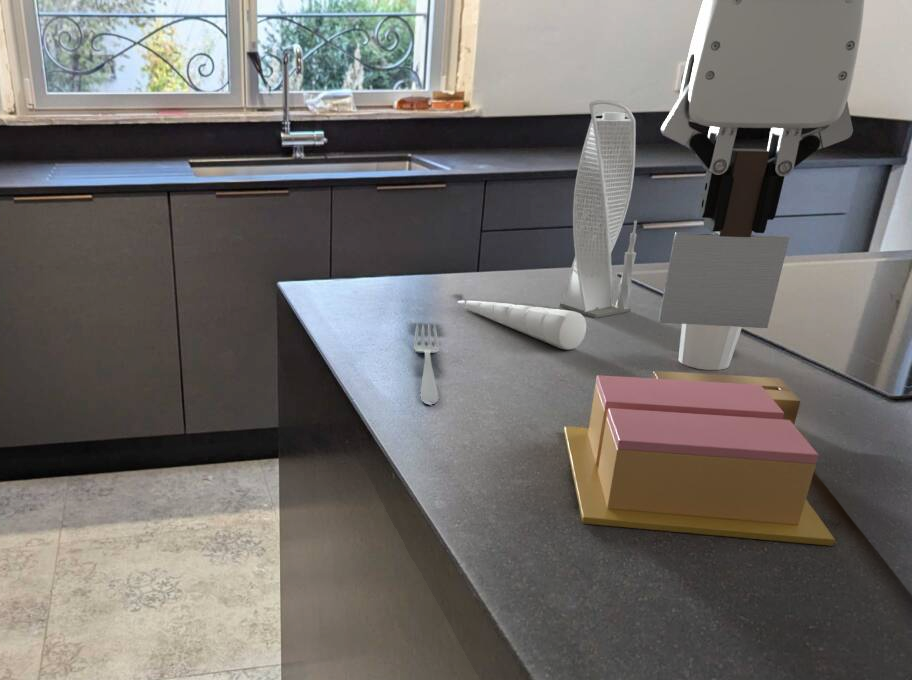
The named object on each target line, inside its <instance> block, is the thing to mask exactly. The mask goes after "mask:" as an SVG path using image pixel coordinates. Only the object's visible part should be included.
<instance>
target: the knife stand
mask: <svg viewBox="0 0 912 680" xmlns="http://www.w3.org/2000/svg"><path fill="white" fill-rule="evenodd" d="M651 378H653V379H670V380H687V381H704V382H720V383H737V384H754V385H761V386H762V387H763V388H764V389H765V391H766V392H767V393H768V394H769V395H770V397H771V398H772V399H773V400H774V401H775V403H776V404H777V405H778V406H779V407H780V409H781V410H782V411H783V412H784V416H783V420H790V421H791V422H792V423H793V424H794V425H795V423H796V420H797V417H798V413H799V410H800V405H801V403H802V402H801V399H800V398H799V397H798V396H797V395H796V394H795V392H793V390H792V389H791V388H790V387H789V386H788V385H787V384H786V383H785V382H784V381H783V379H782V378H780V377H767V376H750V375H734V374H733V375H732V374H716V373H715V374H714V373H700V372H699V373H698V372H683V371H681V372H679V371H664V370H653V372H652V376H651Z"/></svg>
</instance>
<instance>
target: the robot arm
mask: <svg viewBox="0 0 912 680" xmlns="http://www.w3.org/2000/svg"><path fill="white" fill-rule="evenodd" d="M864 7H865V0H702V3H701V6H700V9H699V11H698V16H697V19H696V23H695V28H694V31H693V35H692V38H691V42H690V47H689V51H688V54H687V55H688V56H687V60H686V63H685V68H684V72H683V76H682V80H681V85H680V90H679V96H678V98H677V100H676V102H675V103H674V105H673V107H672V108H671V110H670V111H669V113H668V115H667V117H666V118H665V120H664V121H663V122H662V125H661V127H660V133H661V135H663V136H664V137H666V138H667V139H669V140H672V141H674V142H676V143H678V144H680V145H682V146H684V147H685V148H688V149H689V150H690V152H691V154H692V155H693V156H694V157H695V158H696V159H697V161H698V162H699V163H700V164H701V166H702V169H704V170H705V176H704V182H703V186H702V187H703V188H702V191H701V197H700V202H699V206H698V216H699V218H701V219H703V226H704V227H705V228H707V229H708V230H709V231H710V232H713V233H715V232H720V230H723V228H724V224H725V219H726V214H727V209H728V205H729V200H730V195H731V191H732V186H733V181H734V177H732V175H730V174H729V173H730V168H731V166H730V165H729V162H730V158H731V154H732V150H733V149H734V144H735V140H736V136H737V132H738V129H739V128H743V129H747V128H748V129H770V131H769V138H768V142H767V148H766V151H769V152H770V154H769V158H768V163H767V167H766V172H765V176H764V179H763V184H762V188H761V193H760V197H759V201H758V206H757V210H756V215H755V219H754V224H753V228H752V233H755V234H764V233H765V232H766V229H767V225H768V221H773V220H774V219H775V217H776V215H777V210H778V206H779V203H780V198H781V193H782V189H783V185H784V182H785V181H784V180H785V177H787V176H789V175H790V174H792V173H793V171H794V168H796V167H798V165H800V164H801V163H802V162H803V161H805V160H807V159H808V158H809V157H810V156H811V155H813V154H814V153H815V152H817V151H818V150H822V149H825V148H827V147H830V146H833V145H836V144H838V143H840V142H844V141H846V140H848V139H850V138H851V137H852V135H853V133H854V129H853V128H854V127H853V123H852V118H851V114H850V113H851V112H850V108H849V103H848V98H849V94H850V91H851V87H852V83H853V79H854V74H855V69H856V63H857V57H858V52H859V46H860V41H861V34H862V26H863V19H864V18H863V16H864V9H865V8H864ZM690 122H691V123H694V124H698V125H700V126H704V127H709V129H708V133H707V135H706V134H704V133H703V132H700V131H698V130H697V129H694V128H693V127H691V126H690ZM803 129H813V130H811V131H809V132H807V133H802V131H803Z"/></svg>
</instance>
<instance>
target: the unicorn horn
mask: <svg viewBox="0 0 912 680" xmlns="http://www.w3.org/2000/svg"><path fill="white" fill-rule="evenodd" d="M457 303H458V304H459V305H460V306H462V307H463V308H465V309H468V310H470V311H471V312H473V313H475V314H478V315H480V316H482V317H485V318H486V319H488V320H491V321H493V322H496V323H497V324H500V325H503V326H505V327H507V328H510V329H512V330H515V331H518V333H519V332H520V333H521V334H524V335H527V336H529V337H532V338H534V339H537V340H538V341H542V342H544V343H547V344H549V345H551V346H553V347H556V348H558V349H560V350H561V349H562V350H565V351H571V350H574V349H576V348H577V347H578V346H580V345H581V344H582V342H583V341H584V339H585V336H586V333H587V321H586V318H585V316H584V315H583V314H582V313H579V312H576V311H573V310H569V309H558V308H550V307H549V308H548V307H540V306H532V305H525V304H514V303H505V302H495V301H481V300H458V301H457Z"/></svg>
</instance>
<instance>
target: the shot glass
mask: <svg viewBox="0 0 912 680" xmlns="http://www.w3.org/2000/svg"><path fill="white" fill-rule="evenodd" d="M742 329H743V327H734V326H715V325H697V324H681V329H680V339H679V351H678V362H679V363H680V364H682V365H684V366H686V367H689V368H694V369H698V370H707V371H721V370H726V369H728V368H730V365H731V363H732V362H731V361H732V359H733V356H734V352H735V349H736V347H737V343H738V341H739V337H740V335H741V331H742Z"/></svg>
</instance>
